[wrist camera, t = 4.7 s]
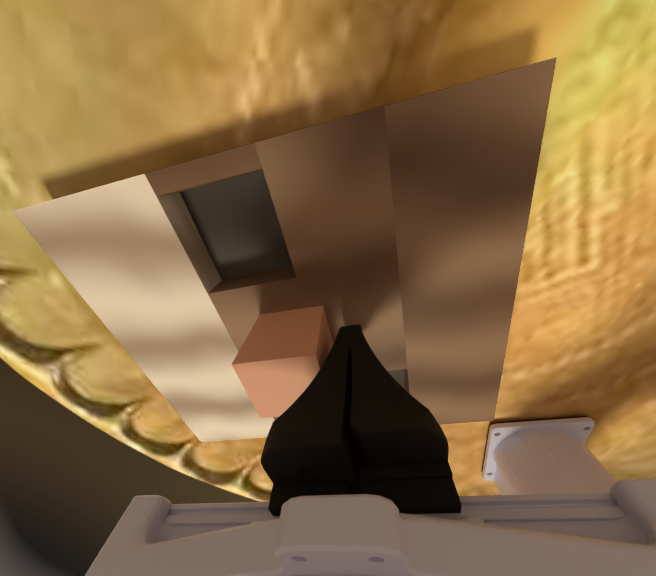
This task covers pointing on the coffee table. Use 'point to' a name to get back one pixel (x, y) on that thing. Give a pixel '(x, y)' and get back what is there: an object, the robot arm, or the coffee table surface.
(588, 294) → the coffee table surface
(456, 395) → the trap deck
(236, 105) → the coffee table surface
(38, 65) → the coffee table surface
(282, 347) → the block
